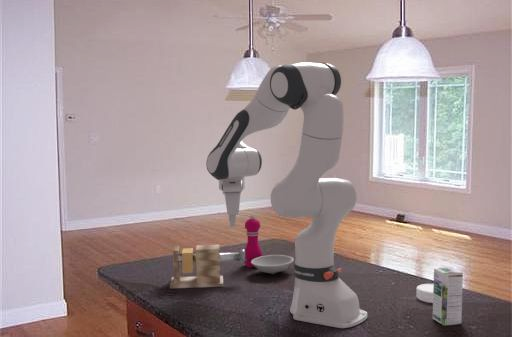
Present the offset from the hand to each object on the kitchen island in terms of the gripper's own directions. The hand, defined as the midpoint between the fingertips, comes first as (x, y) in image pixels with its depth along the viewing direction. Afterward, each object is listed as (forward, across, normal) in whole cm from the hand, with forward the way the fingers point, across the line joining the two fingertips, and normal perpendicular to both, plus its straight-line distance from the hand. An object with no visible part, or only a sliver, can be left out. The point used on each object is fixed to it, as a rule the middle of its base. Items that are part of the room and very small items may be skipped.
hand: (232, 223), depth 187 cm
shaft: (+14, 0, -8) cm, 16 cm away
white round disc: (+21, +25, +62) cm, 70 cm away
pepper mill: (+21, -21, +8) cm, 31 cm away
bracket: (+21, 0, -12) cm, 24 cm away
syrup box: (+20, +45, +57) cm, 75 cm away
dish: (+21, -9, +15) cm, 27 cm away
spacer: (+12, 0, -16) cm, 20 cm away
